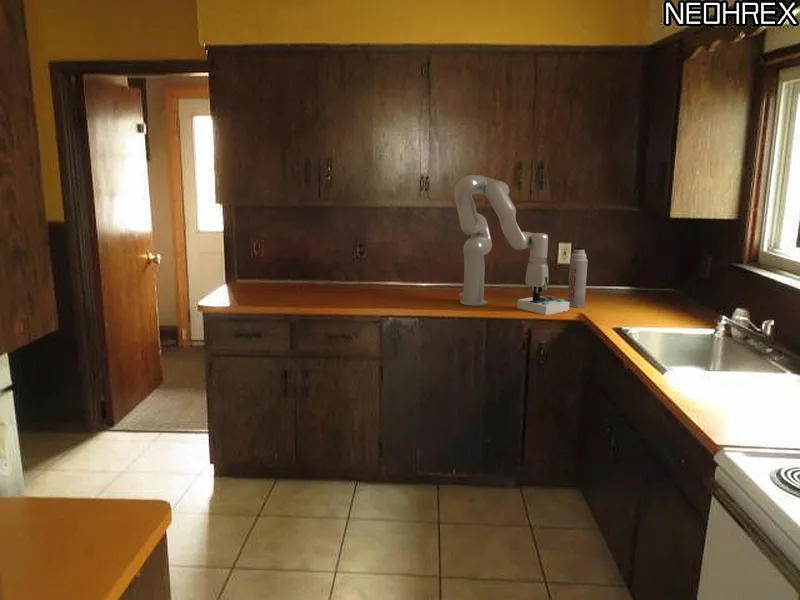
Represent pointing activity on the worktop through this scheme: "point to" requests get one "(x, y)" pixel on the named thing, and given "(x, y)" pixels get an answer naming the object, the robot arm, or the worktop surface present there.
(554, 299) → the button
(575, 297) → the thermos bottle
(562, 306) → the switch unit
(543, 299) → the button
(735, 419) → the worktop surface
